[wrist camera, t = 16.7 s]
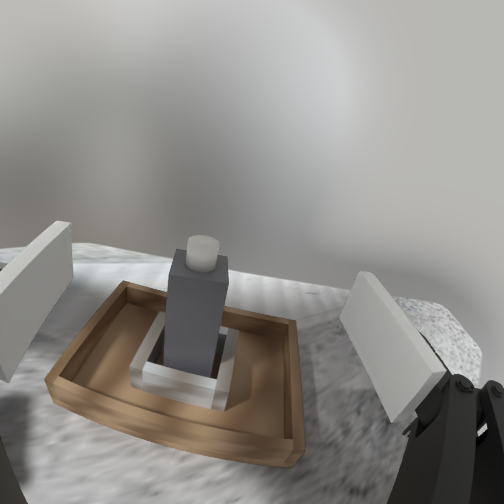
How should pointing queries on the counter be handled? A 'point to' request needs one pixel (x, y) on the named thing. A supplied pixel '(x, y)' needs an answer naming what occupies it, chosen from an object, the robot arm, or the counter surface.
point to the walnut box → (187, 382)
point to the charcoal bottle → (195, 306)
